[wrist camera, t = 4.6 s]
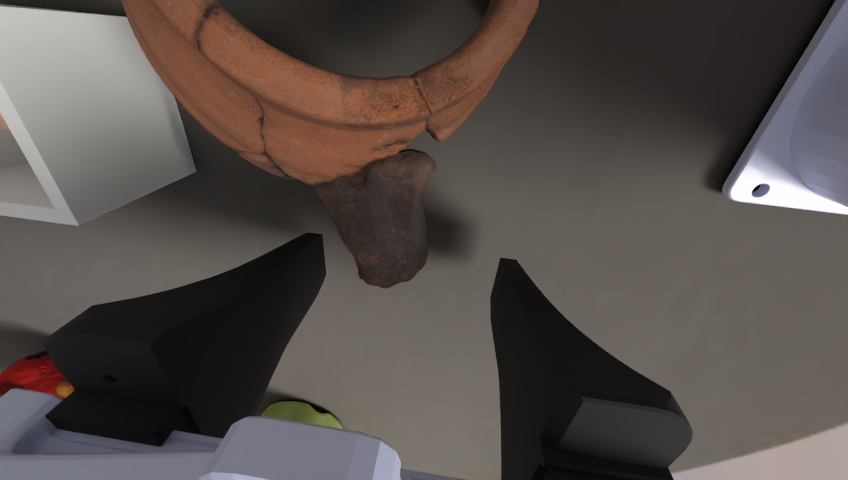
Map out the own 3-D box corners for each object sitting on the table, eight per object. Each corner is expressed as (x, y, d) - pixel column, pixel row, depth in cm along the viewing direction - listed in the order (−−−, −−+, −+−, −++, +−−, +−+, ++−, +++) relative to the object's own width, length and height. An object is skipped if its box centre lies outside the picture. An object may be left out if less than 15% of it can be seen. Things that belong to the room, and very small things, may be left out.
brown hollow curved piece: (161, -34, 11) (-318, -642, 3) (420, -77, 13) (555, -524, 5) (299, 287, 13) (242, 422, 6) (496, 213, 15) (666, 235, 7)
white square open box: (151, 19, 11) (-43, 2, 7) (196, 171, 14) (79, 226, 10) (5, 4, 11) (-269, -22, 7) (78, 156, 14) (-86, 203, 10)
